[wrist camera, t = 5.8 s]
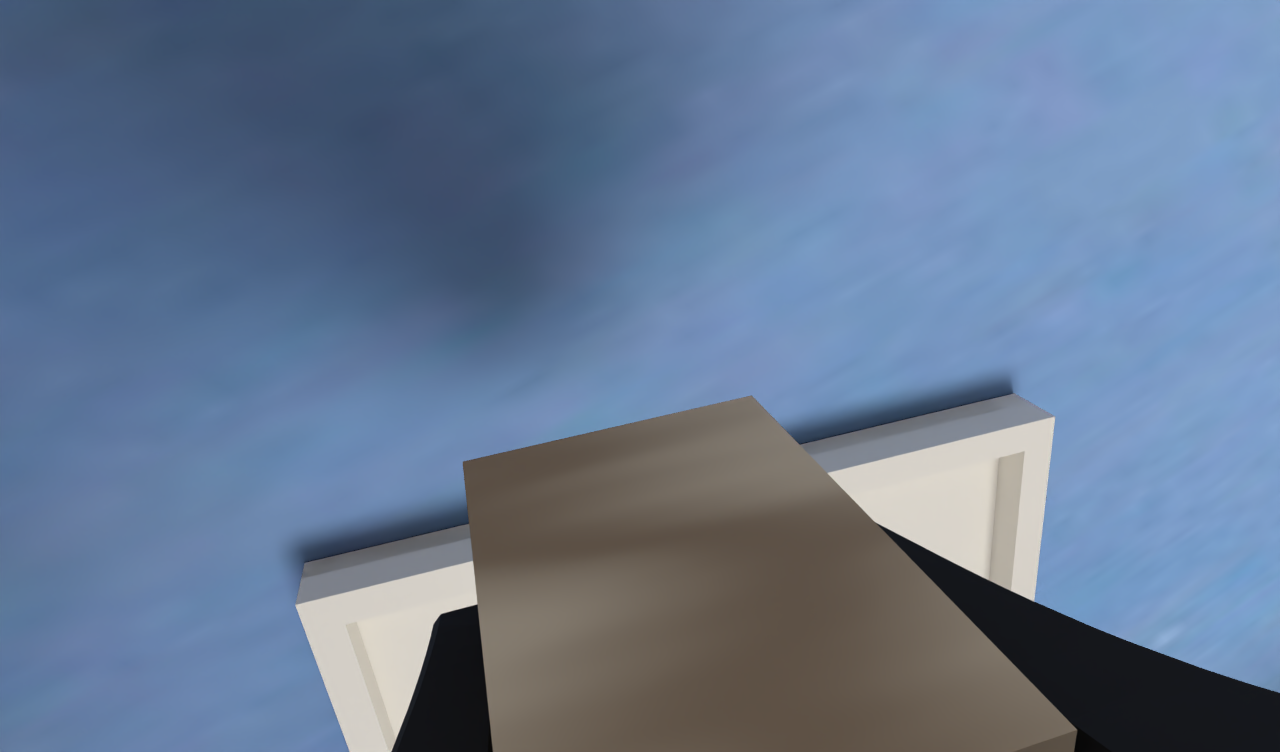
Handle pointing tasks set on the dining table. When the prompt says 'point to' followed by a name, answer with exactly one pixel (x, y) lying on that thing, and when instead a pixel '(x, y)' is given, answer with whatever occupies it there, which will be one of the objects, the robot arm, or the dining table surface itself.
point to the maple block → (720, 605)
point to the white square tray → (381, 625)
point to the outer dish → (955, 483)
